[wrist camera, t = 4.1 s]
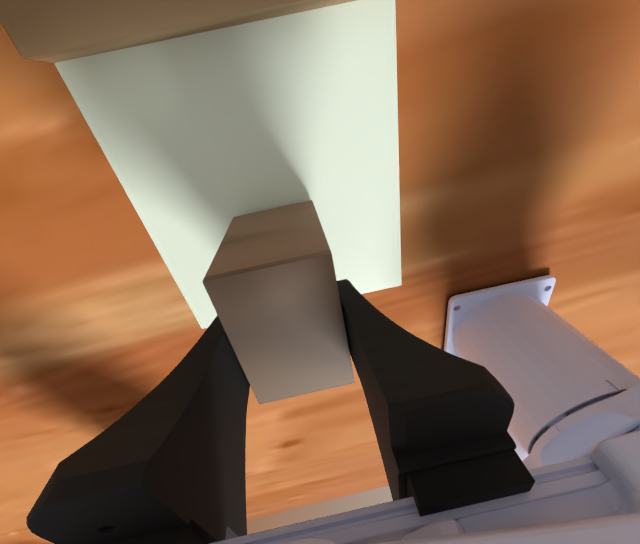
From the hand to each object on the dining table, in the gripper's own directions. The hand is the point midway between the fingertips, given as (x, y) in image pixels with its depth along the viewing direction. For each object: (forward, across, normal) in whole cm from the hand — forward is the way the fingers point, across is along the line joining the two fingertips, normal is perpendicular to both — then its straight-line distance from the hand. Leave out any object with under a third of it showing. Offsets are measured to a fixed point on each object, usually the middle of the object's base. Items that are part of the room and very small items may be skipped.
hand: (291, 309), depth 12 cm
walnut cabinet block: (+4, 0, 0) cm, 4 cm away
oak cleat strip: (+5, 0, -11) cm, 12 cm away
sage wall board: (+6, 0, -4) cm, 7 cm away
